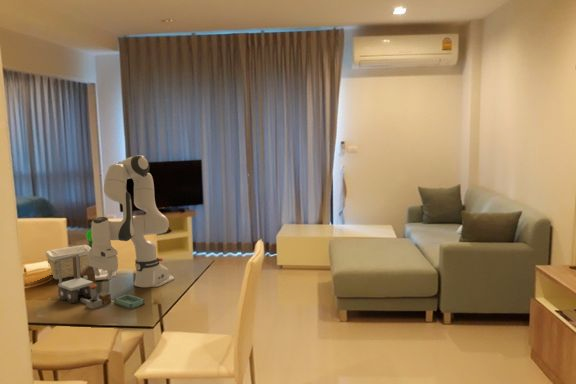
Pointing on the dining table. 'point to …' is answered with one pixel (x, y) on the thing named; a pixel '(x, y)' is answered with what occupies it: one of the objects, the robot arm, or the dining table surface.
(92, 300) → the pin
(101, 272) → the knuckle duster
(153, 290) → the dining table surface
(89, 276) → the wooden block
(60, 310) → the dining table surface
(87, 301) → the trolley
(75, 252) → the storage basket
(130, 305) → the tray
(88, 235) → the plastic bottle
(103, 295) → the block
